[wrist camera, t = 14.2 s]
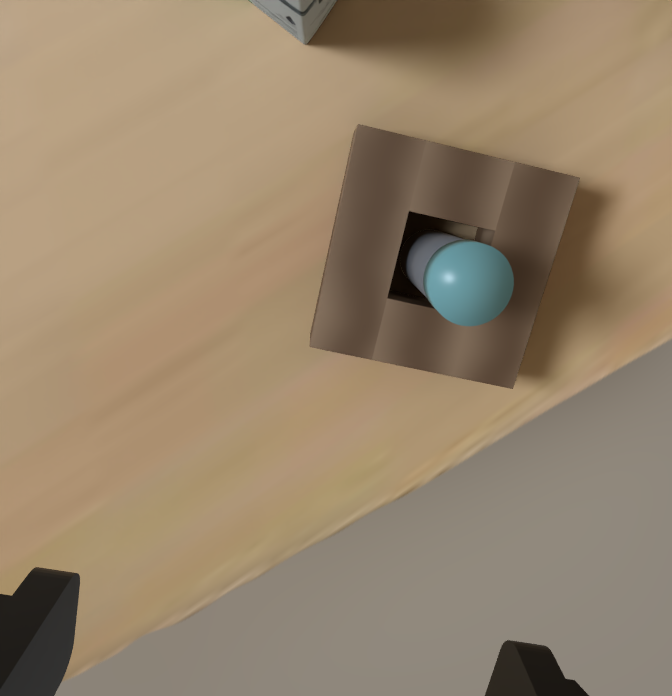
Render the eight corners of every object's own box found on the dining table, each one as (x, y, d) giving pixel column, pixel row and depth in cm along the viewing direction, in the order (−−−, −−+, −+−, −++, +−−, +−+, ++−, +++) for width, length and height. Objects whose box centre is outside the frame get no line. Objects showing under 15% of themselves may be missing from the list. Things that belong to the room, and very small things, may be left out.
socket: (310, 332, 41) (309, 346, 37) (354, 131, 38) (358, 123, 34) (495, 371, 42) (512, 388, 39) (554, 179, 39) (580, 177, 35)
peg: (391, 280, 41) (421, 316, 29) (406, 221, 39) (442, 234, 28) (448, 293, 41) (499, 333, 29) (464, 235, 40) (524, 253, 28)
